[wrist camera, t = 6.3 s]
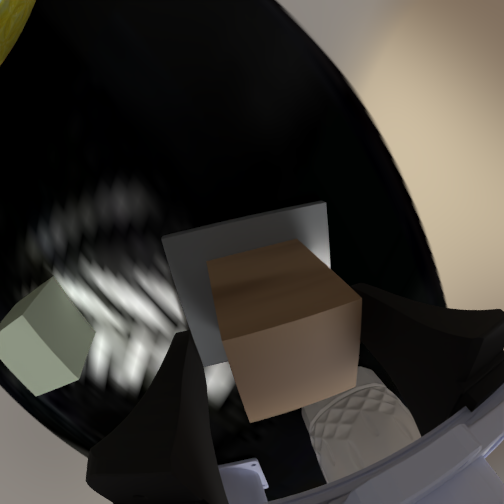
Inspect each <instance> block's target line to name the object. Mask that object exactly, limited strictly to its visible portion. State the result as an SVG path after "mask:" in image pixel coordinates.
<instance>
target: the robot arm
mask: <svg viewBox="0 0 504 504" xmlns="http://www.w3.org/2000/svg"><path fill="white" fill-rule="evenodd" d="M350 287H351V288H352V289H353V290H354V291H355V292H356V293H357V294H358V295H359V296H360V297H361V298H362V315H361V334H360V340H361V341H362V343H363V344H364V345H365V346H366V348H367V349H368V350H369V351H370V352H371V354H372V355H373V356H374V357H375V358H376V359H377V361H378V362H379V363H380V364H381V365H382V367H383V368H384V369H385V370H386V372H387V373H388V374H389V376H390V377H391V379H392V381H393V382H394V384H395V385H396V387H397V389H398V390H399V392H400V394H401V396H402V397H403V399H404V401H405V403H406V405H407V407H408V409H409V411H410V413H411V415H412V417H413V419H414V421H415V423H416V425H417V428H418V430H419V433H420V435H421V438H419V439H417V440H416V441H414V442H413V443H411V444H409V445H407V446H406V447H404V448H402V449H401V450H399V451H397V452H395V453H393V454H392V455H390V456H388V457H386V458H384V459H382V460H380V461H378V462H376V463H374V464H372V465H370V466H368V467H366V468H364V469H361V470H359V471H357V472H355V473H352V474H350V475H348V476H345V477H343V478H341V479H338V480H336V481H333V482H330V483H328V484H325V485H322V486H320V487H317V488H314V489H311V490H308V491H305V492H302V493H299V494H295V495H292V496H289V497H285V498H281V499H278V500H274V501H270V502H267V499H266V495H265V492H264V489H266V488H268V487H269V486H268V483H267V481H266V479H265V476H264V474H263V472H262V469H261V467H260V465H259V462H258V460H257V459H256V458H251V459H246V460H242V461H237V462H232V463H227V464H222V465H218V464H217V460H216V456H215V452H214V447H213V442H212V438H211V432H210V423H209V411H208V397H207V384H206V378H205V373H204V368H203V363H202V361H201V358H200V356H199V353H198V351H197V348H196V345H195V343H194V340H193V337H192V334H191V332H190V330H187V331H183V332H178V333H176V334H175V335H174V338H173V340H172V342H171V345H170V347H169V350H168V352H167V354H166V356H165V358H164V360H163V362H162V365H161V367H160V369H159V371H158V372H157V374H156V376H155V378H154V380H153V381H152V383H151V385H150V386H149V388H148V390H147V391H146V393H145V394H144V396H143V397H142V398H141V400H140V401H139V403H138V404H137V405H136V406H135V407H134V409H133V410H132V411H131V412H130V413H129V415H128V416H127V417H126V418H125V419H124V420H123V421H122V422H121V423H120V424H119V425H118V426H117V427H116V428H115V429H114V430H113V431H112V432H111V433H109V434H108V435H107V436H106V437H105V438H103V439H102V440H101V441H100V442H98V443H97V444H96V445H94V446H93V447H92V448H90V452H89V457H88V464H87V473H86V482H87V484H88V485H89V486H90V487H91V488H92V489H93V490H94V491H96V492H97V493H99V494H100V495H102V496H103V497H105V498H106V499H108V500H110V501H111V502H113V504H504V483H503V482H502V480H501V479H500V478H499V477H498V475H497V474H496V473H495V471H494V470H493V469H492V467H490V465H489V464H488V462H487V461H486V460H485V458H486V457H487V456H488V455H489V454H490V453H491V452H492V451H493V450H494V449H495V448H496V447H497V446H498V445H499V444H500V443H501V442H502V441H503V440H504V350H503V348H504V311H502V310H501V309H493V310H458V309H449V308H443V307H437V306H433V305H428V304H424V303H420V302H417V301H413V300H410V299H407V298H404V297H401V296H398V295H395V294H392V293H390V292H387V291H384V290H382V289H379V288H376V287H373V286H371V285H368V284H364V283H358V284H355V285H352V286H350Z"/></svg>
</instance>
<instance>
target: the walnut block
mask: <svg viewBox="0 0 504 504" xmlns="http://www.w3.org/2000/svg"><path fill="white" fill-rule="evenodd" d="M206 262H207V268H208V273H209V279H210V284H211V289H212V295H213V300H214V305H215V310H216V315H217V320H218V325H219V330H220V335H221V340H222V343H223V346H224V349H225V352H226V356H227V359H228V362H229V365H230V367H231V370H232V373H233V376H234V379H235V382H236V385H237V388H238V391H239V394H240V396H241V399H242V402H243V405H244V407H245V410H246V413H247V416H248V418H249V421H250V423H251V422H255V421H259V420H262V419H266V418H270V417H273V416H276V415H280V414H283V413H286V412H289V411H292V410H295V409H298V408H301V407H304V406H307V405H310V404H313V403H316V402H318V401H321V400H324V399H327V398H329V397H332V396H334V395H337V394H339V393H342V392H344V391H347V390H349V389H351V388H354V387H356V380H357V370H358V360H359V348H360V334H361V315H362V298H361V297H360V296H359V295H358V294H357V293H356V292H355V291H354V290H353V289H352V288H351V287H350V286H349V285H347V284H346V283H345V282H344V281H343V280H342V279H341V278H340V277H339V276H338V275H337V274H336V273H334V272H333V271H332V270H331V269H330V268H329V267H328V266H327V265H326V264H325V263H324V262H322V261H321V260H320V259H319V258H318V257H317V256H316V255H315V254H314V253H312V252H311V251H310V250H309V249H308V248H307V247H306V246H305V245H304V244H302V243H301V242H300V241H299V240H298V239H293V240H289V241H285V242H281V243H277V244H273V245H269V246H265V247H261V248H257V249H253V250H249V251H245V252H241V253H237V254H233V255H229V256H225V257H222V258H218V259H214V260H210V261H206Z"/></svg>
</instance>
